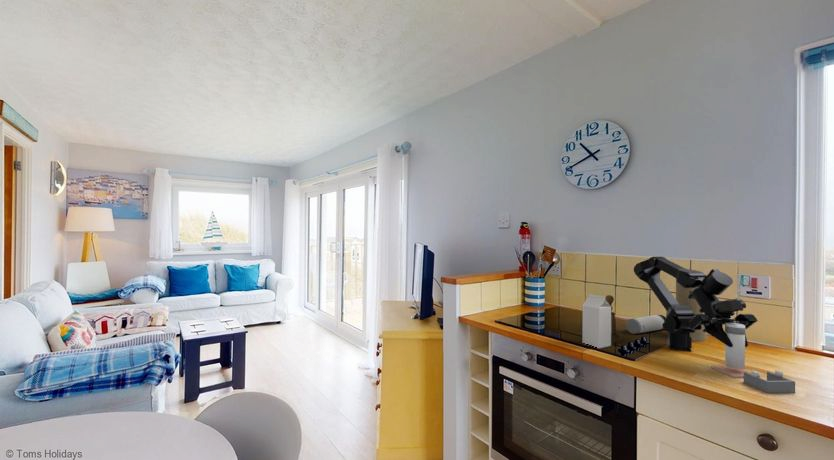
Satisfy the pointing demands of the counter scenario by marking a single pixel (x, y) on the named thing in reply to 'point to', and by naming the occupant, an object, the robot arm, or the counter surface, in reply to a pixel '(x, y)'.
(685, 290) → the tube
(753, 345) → the counter surface
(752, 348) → the counter surface
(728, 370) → the mat
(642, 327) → the travel mug
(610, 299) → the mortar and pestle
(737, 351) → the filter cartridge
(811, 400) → the counter surface
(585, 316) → the milk carton
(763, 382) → the cartridge housing
